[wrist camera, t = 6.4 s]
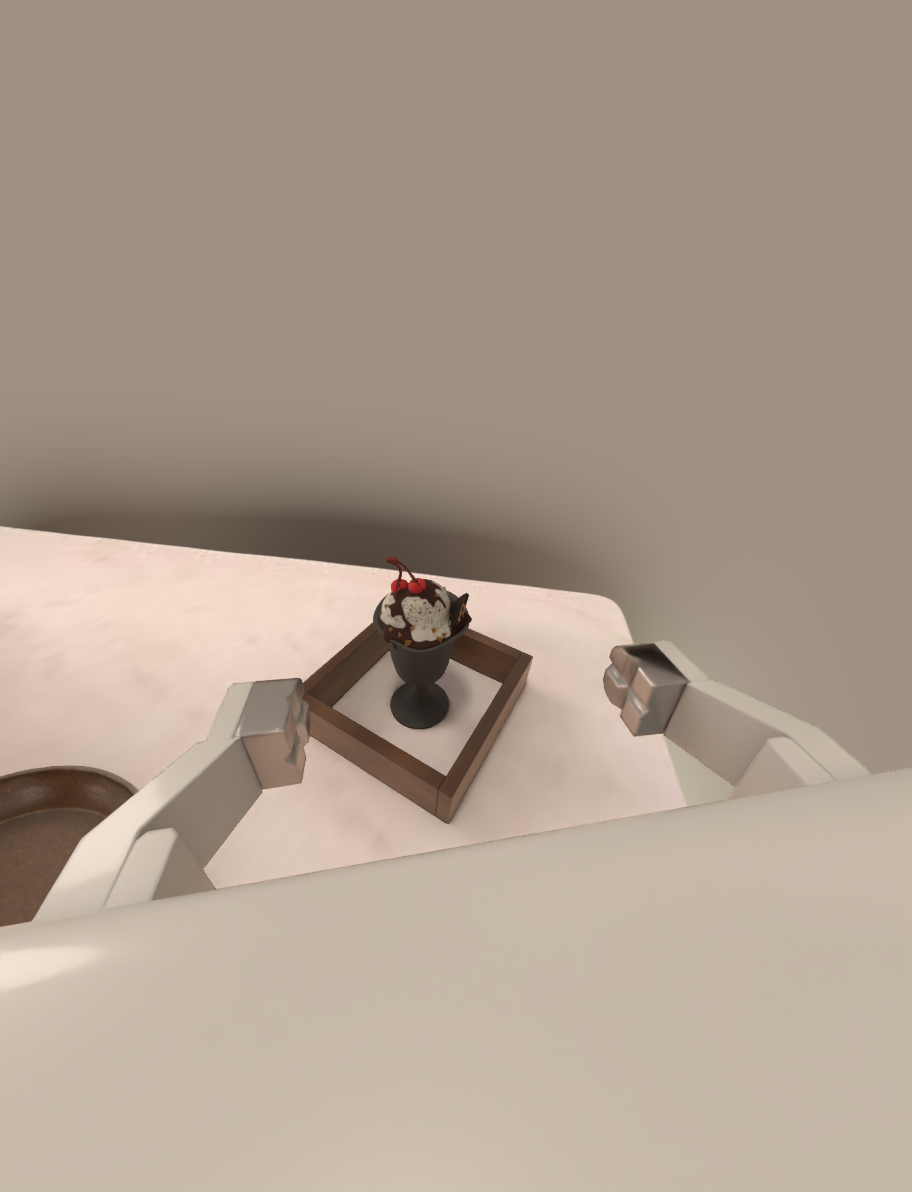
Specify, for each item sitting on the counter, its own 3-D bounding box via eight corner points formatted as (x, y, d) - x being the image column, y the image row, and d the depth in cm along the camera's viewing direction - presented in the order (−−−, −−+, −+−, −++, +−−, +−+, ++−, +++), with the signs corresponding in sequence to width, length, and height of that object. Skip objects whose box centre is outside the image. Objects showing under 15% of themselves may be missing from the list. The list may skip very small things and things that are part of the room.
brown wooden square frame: (296, 726, 31) (286, 696, 29) (400, 626, 41) (400, 598, 39) (448, 824, 26) (451, 798, 24) (525, 684, 36) (533, 656, 34)
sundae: (363, 701, 33) (346, 550, 24) (423, 662, 37) (428, 520, 28) (413, 755, 30) (415, 603, 21) (474, 706, 34) (498, 559, 25)
